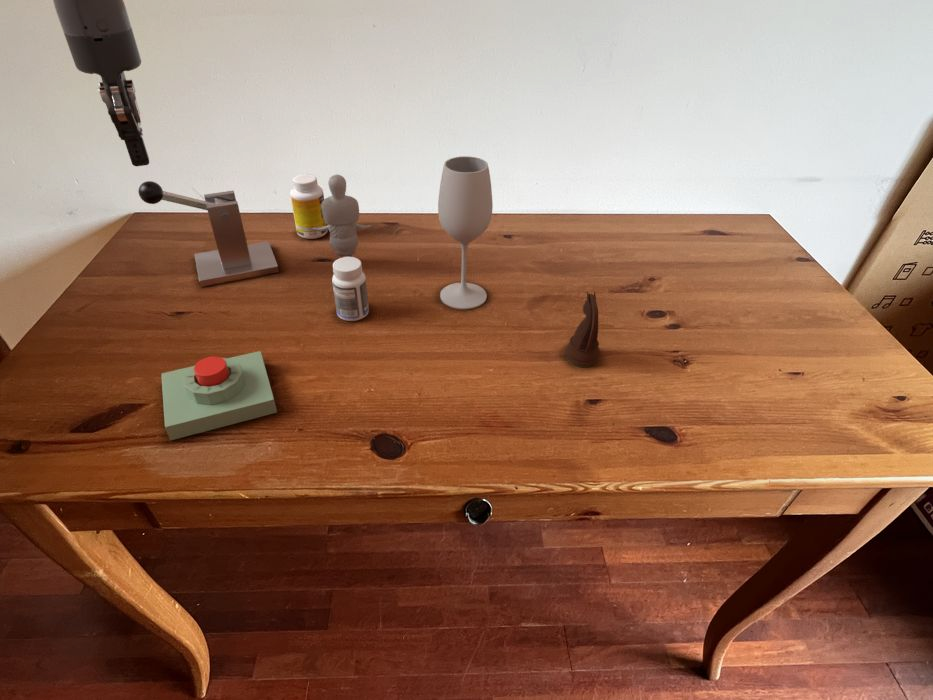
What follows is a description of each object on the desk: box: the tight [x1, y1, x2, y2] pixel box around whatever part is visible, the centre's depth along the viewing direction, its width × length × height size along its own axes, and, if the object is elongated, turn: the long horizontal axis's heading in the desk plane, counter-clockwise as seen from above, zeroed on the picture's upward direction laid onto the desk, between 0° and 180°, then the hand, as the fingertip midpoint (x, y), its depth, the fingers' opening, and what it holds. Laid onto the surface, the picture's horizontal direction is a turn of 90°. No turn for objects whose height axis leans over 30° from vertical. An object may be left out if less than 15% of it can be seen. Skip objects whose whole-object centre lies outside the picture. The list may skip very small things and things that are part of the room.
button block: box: [160, 350, 278, 441], centre depth 73 cm, size 12×10×4 cm
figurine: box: [312, 174, 373, 258], centre depth 97 cm, size 9×4×15 cm, turn 99°
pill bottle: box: [331, 256, 370, 322], centre depth 87 cm, size 5×5×8 cm
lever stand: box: [194, 190, 280, 288], centre depth 96 cm, size 12×9×12 cm
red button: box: [194, 355, 229, 387], centre depth 72 cm, size 4×4×2 cm
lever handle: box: [137, 180, 230, 211], centre depth 90 cm, size 13×3×3 cm, turn 114°
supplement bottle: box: [289, 173, 329, 240], centre depth 106 cm, size 6×6×10 cm
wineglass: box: [437, 155, 494, 310], centre depth 87 cm, size 8×8×21 cm
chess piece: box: [564, 291, 600, 368], centre depth 79 cm, size 5×5×10 cm
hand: (141, 163), depth 85 cm, fingers closed
